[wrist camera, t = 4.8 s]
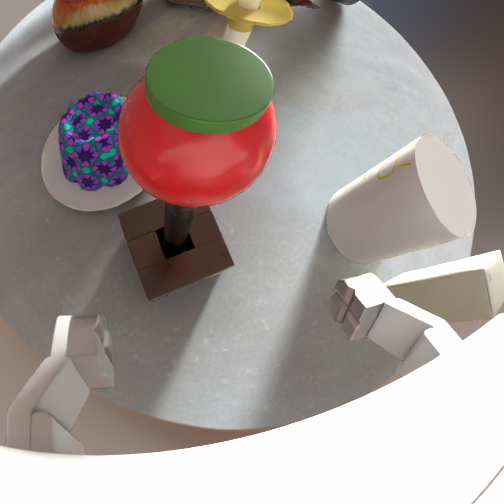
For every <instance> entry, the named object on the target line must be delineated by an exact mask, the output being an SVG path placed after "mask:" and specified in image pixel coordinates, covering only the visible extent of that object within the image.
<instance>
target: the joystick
mask: <svg viewBox="0 0 504 504" xmlns="http://www.w3.org/2000/svg"><path fill="white" fill-rule="evenodd" d="M273 95H274V80H273V76H272V74H271V72H270V70H269V68H268V67H267V65H266V64H265V63H264V62H263V61H262V60H261V58H260V57H258V56H257V55H256V54H255V53H253V52H252V51H250V50H249V49H247V48H245V47H243V46H241V45H239V44H237V43H234V42H231V41H228V40H224V39H219V38H211V37H195V38H188V39H183V40H179V41H176V42H174V43H171V44H169V45H167V46H165V47H164V48H162V49H161V50H160V51H158V52H157V53H156V54H155V55H154V56H153V57H152V59H151V60H150V62H149V63H148V65H147V68H146V71H145V75H144V76H143V77H142V78H141V79H140V80H139V81H138V82H137V84H136V85H135V86H134V88H133V89H132V90H131V92H130V93H129V95H128V97H127V98H126V100H125V103H124V105H123V107H122V110H121V113H120V118H119V124H118V145H119V150H120V154H121V157H122V160H123V162H124V165H125V167H126V169H127V170H128V172H129V174H130V175H131V176H132V178H133V179H134V180H135V181H136V183H137V184H138V185H139V186H140V187H141V188H142V189H143V190H144V191H146V192H147V193H149V194H150V195H152V196H153V197H155V198H157V199H159V200H161V201H163V202H165V208H164V255H165V257H166V258H167V259H169V258H171V257H174V256H176V255H179V254H181V253H182V251H183V247H184V244H185V241H186V238H187V235H188V232H189V229H190V226H191V223H192V220H193V217H194V214H195V211H196V208H197V207H206V206H212V205H216V204H220V203H223V202H225V201H227V200H230V199H232V198H233V197H235V196H237V195H239V194H240V193H242V192H243V191H245V190H246V189H247V188H248V187H250V186H251V185H252V183H253V182H254V181H255V180H256V179H257V178H258V177H259V176H260V175H261V173H262V172H263V171H264V169H265V167H266V166H267V164H268V162H269V160H270V158H271V155H272V152H273V149H274V146H275V142H276V134H277V121H276V115H275V109H274V106H273V103H272V98H273Z"/></svg>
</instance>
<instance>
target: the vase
mask: <svg viewBox="0 0 504 504" xmlns="http://www.w3.org/2000/svg"><path fill="white" fill-rule="evenodd" d="M141 5H142V0H55V1H54V4H53V7H52V12H51V23H52V27H53V30H54V32H55V35H56V36H57V38H58V40H59V41H60V42H61V43H62V44H63V45H64V46H66V47H67V48H69V49H72V50H75V51H81V52H87V51H95V50H99V49H102V48H105V47H108V46H110V45H112V44H114V43H116V42H117V41H119V40H120V39H122V38H123V37H124V36H125V35H126V34H127V33H128V32H129V31H130V30H131V28H132V27H133V26H134V24H135V22H136V20H137V18H138V15H139V13H140V9H141Z"/></svg>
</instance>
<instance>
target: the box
mask: <svg viewBox="0 0 504 504" xmlns="http://www.w3.org/2000/svg"><path fill="white" fill-rule="evenodd" d="M383 285H384V286H385V287H386V288H387V289H388V290H389V291H390V292H391V293H392V294H393V296H394V297H395V298H396V299H398V298H400V299H402V300H404V301H406V302H408V303H410V304H412V305H414V306H416V307H418V308H420V309H422V310H425V311H427V312H429V313H431V314H433V315H435V316H437V317H439V318H441V319H443V320H445V321H446V322H458V321H459V322H460V321H473V320H486V319H493V318H494V317H495V315H496V314H497V313H498V311H499V310H500V308H501V307H502V305H503V304H504V264H503V259H502V255H501V252H500V250H498V251H494V252H490V253H486V254H482V255H478V256H474V257H470V258H466V259H462V260H458V261H454V262H450V263H446V264H442V265H438V266H434V267H429V268H425V269H420V270H416V271H411V272H407V273H403V274H401V275H399V276H397V277H395V278H393V279H392V280H390V281H388V282H386V283H385V284H383Z"/></svg>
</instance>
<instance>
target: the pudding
mask: <svg viewBox="0 0 504 504" xmlns="http://www.w3.org/2000/svg"><path fill="white" fill-rule="evenodd" d="M126 98H127V97H124V96H119V95H117V94H116V93H111V92H110V93H106V94H103V93H101V92H93V93H90V94H88V95H87V96H86V97H85V98H84V99H78V100H76V101H75V102H73V103H72V104H71V105H70V106H69V107H68V111H67V113H66V114H65V115H64V116H62V118H61V120H60V121H59V122H58V123H57V124H56V126H55V127H54V128H53V130H52V131H51V133H50V134H49V136H48V138H47V140H46V142H45V145H44V148H43V151H42V157H41V174H42V178H43V182H44V184H45V186H46V188H47V190H48V191H49V193H50V194H51V195H52V196H53V198H55V199H56V200H57V201H58V202H60V203H61V204H63V205H65V206H67V207H69V208H72V209H76V210H80V211H100V210H106V209H109V208H113V207H116V206H118V205H120V204H123V203H125V202H127V201H129V200H130V199H132V198H133V197H135V196H136V195H138V194H139V193H140V192H141V191H142V190H143V189H142V188H141V187H140V186H139V185H138V184H137V183H136V181H135V180H134V179H133V178H132V176H131V175H130V174H129V172H128V170H127V169H126V167H125V165H124V162H123V160H122V157H121V154H120V150H119V145H118V124H119V118H120V113H121V110H122V107H123V105H124V103H125V100H126Z"/></svg>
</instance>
